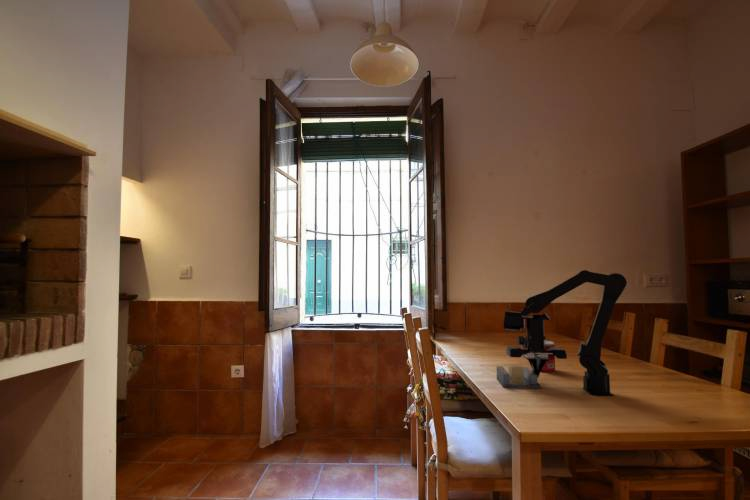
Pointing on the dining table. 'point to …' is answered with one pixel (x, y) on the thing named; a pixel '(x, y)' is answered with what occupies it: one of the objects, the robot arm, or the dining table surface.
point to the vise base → (507, 383)
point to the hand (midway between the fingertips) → (536, 377)
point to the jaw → (530, 376)
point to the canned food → (549, 364)
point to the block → (516, 373)
